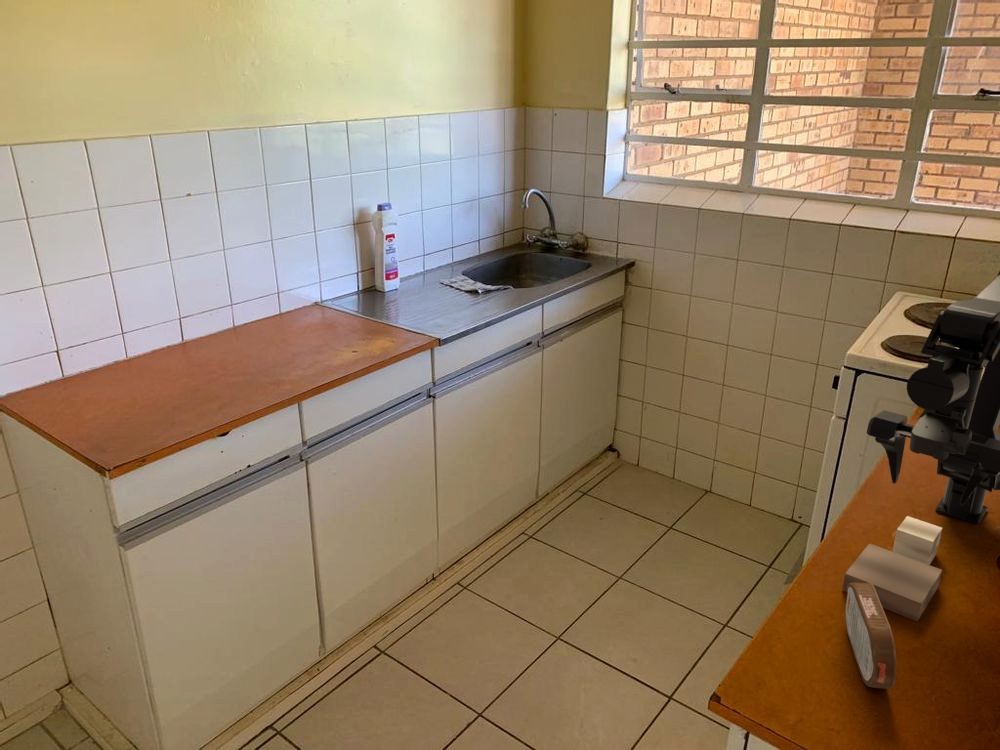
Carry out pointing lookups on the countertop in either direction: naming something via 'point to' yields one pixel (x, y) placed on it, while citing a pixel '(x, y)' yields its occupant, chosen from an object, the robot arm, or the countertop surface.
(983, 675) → the countertop surface
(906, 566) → the base
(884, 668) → the tin
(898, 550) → the block
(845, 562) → the countertop surface
